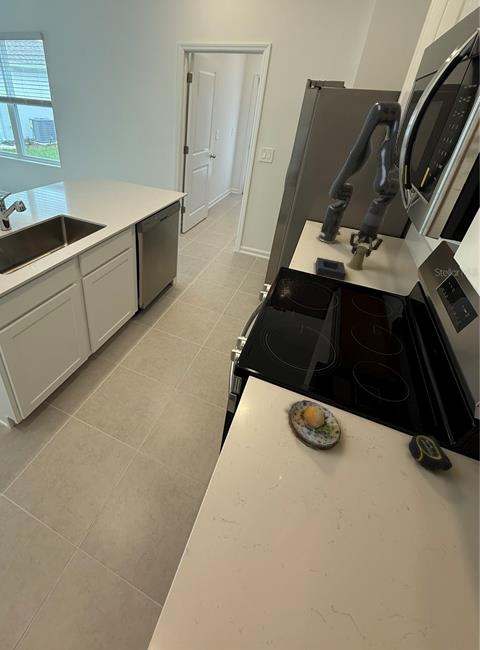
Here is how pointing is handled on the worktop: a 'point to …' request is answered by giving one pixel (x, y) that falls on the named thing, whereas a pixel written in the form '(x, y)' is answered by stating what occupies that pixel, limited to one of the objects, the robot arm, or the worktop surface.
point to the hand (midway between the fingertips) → (359, 255)
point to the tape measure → (429, 453)
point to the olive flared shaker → (358, 258)
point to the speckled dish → (314, 425)
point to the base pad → (330, 268)
